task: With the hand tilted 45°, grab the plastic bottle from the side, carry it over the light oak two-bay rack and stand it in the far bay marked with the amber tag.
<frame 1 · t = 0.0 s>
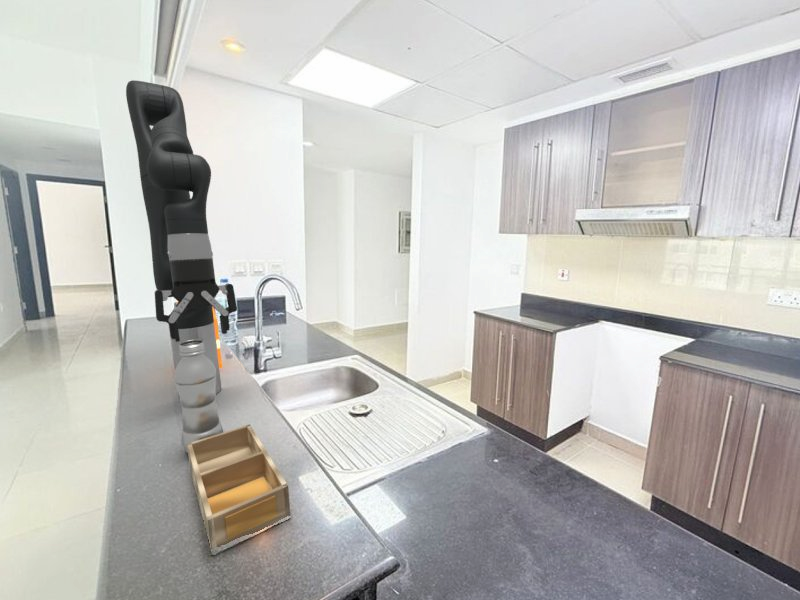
hand: (201, 337, 73), 17 cm above the table, tool pointing down, fingers open, 8 cm apart
plastic bottle: (204, 450, 64), on the table
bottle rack: (236, 492, 53), on the table
orange juice: (202, 368, 103), on the table
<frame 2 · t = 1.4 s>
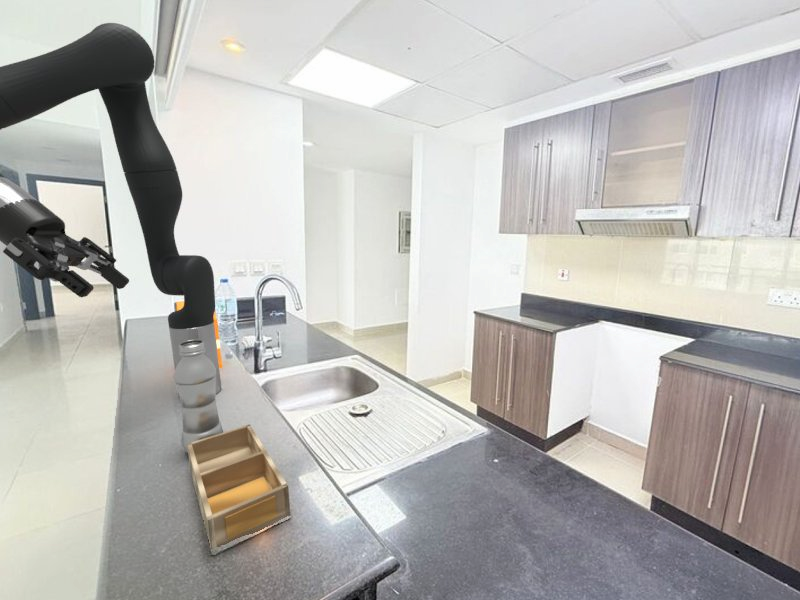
hand: (108, 288, 57), 30 cm above the table, tool tilted 45°, fingers open, 8 cm apart
nothing on the table moved.
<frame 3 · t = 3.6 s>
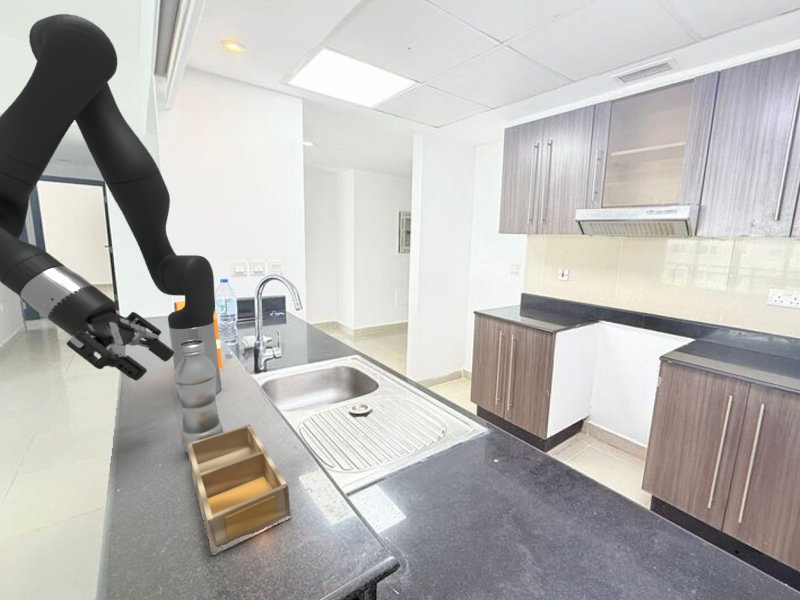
hand: (157, 366, 60), 16 cm above the table, tool tilted 45°, fingers open, 8 cm apart
nothing on the table moved.
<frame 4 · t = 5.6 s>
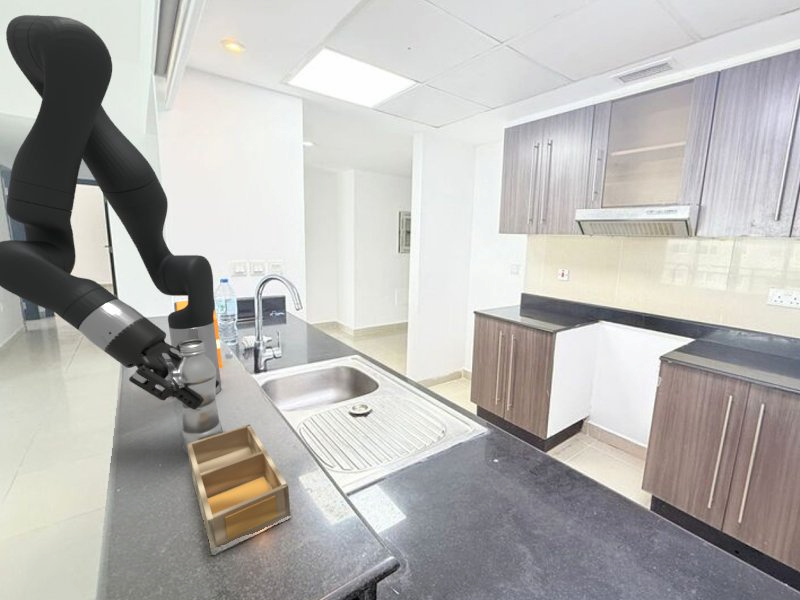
hand: (208, 395, 62), 10 cm above the table, tool tilted 45°, fingers closed on plastic bottle, 6 cm apart
plastic bottle: (204, 450, 64), on the table, touching gripper
everything else where it was.
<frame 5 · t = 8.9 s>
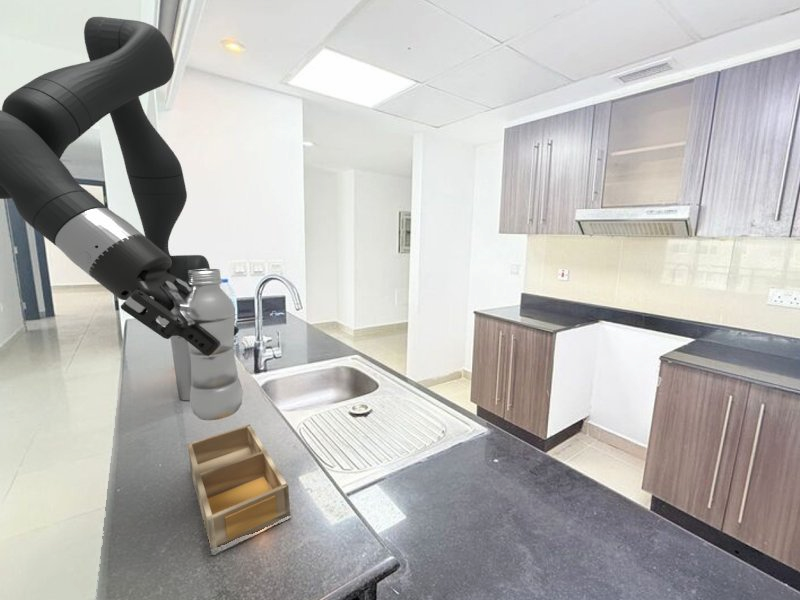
hand: (225, 342, 48), 24 cm above the table, tool tilted 45°, fingers closed on plastic bottle, 6 cm apart
plastic bottle: (219, 416, 49), point 13 cm above the table, touching gripper
everything else where it was.
when the fingers open (13 cm above the table, at t = 12.2 s): plastic bottle drops 1 cm, resting on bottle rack.
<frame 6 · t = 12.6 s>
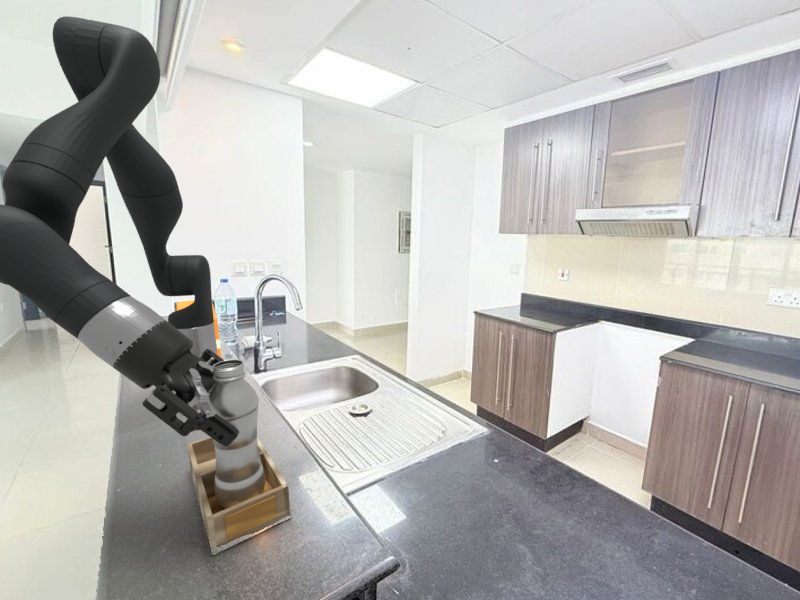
hand: (245, 421, 47), 14 cm above the table, tool tilted 45°, fingers open, 8 cm apart
plastic bottle: (242, 501, 50), point 1 cm above the table, touching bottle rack
everything else where it was.
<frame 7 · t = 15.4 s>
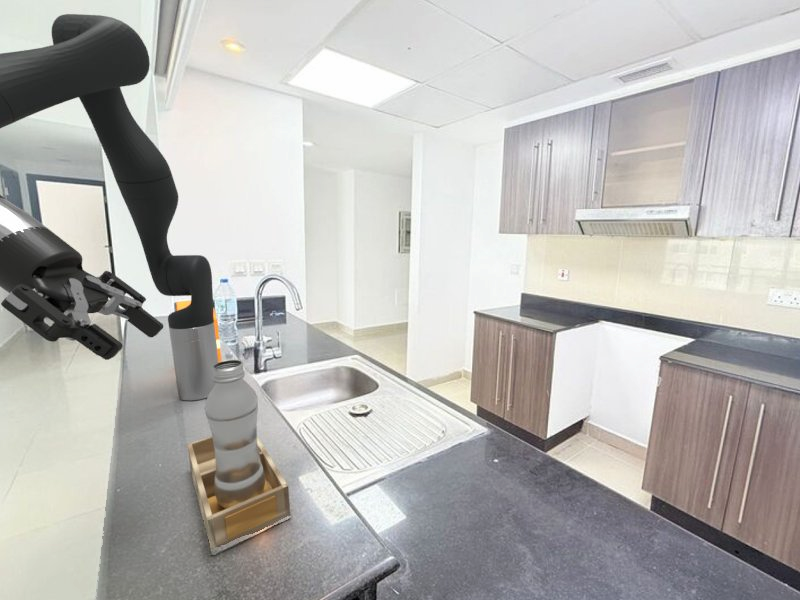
hand: (139, 341, 44), 25 cm above the table, tool tilted 45°, fingers open, 8 cm apart
nothing on the table moved.
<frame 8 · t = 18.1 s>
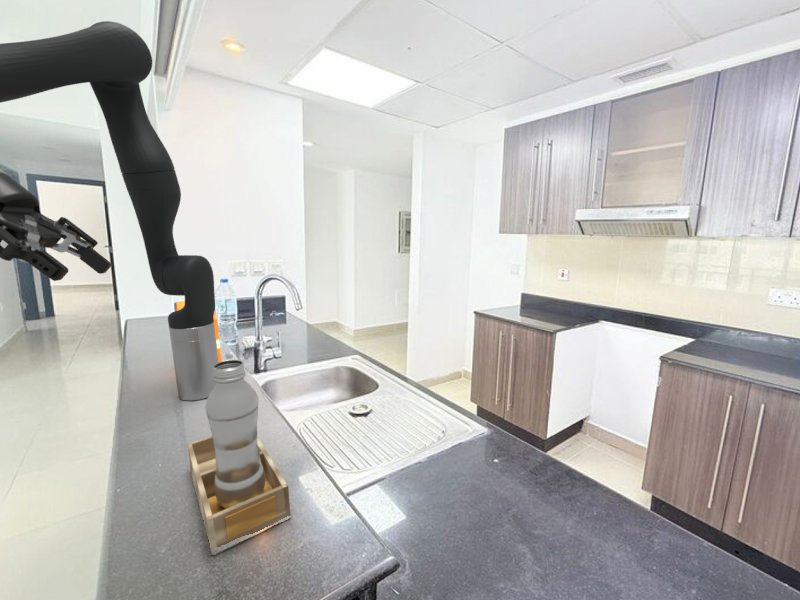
hand: (86, 272, 52), 33 cm above the table, tool tilted 45°, fingers open, 8 cm apart
nothing on the table moved.
at the end: plastic bottle 0.8 cm from the target spot on the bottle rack, point 1.2 cm above the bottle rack's base; plastic bottle tilted 0°; the gripper is holding nothing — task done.
